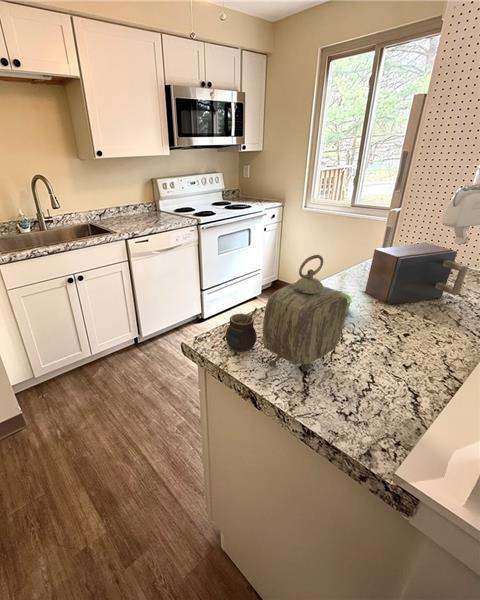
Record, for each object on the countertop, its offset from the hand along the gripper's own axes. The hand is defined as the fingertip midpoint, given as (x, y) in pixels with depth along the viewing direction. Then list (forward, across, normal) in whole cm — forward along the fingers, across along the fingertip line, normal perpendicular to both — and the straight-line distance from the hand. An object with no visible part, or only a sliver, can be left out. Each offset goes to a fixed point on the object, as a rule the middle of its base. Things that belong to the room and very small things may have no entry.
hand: (478, 241), depth 76 cm
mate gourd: (+19, -61, -4) cm, 64 cm away
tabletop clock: (+19, -51, -13) cm, 56 cm away
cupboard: (+18, -5, +11) cm, 22 cm away
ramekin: (+19, -30, +7) cm, 36 cm away
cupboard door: (+18, -5, +3) cm, 19 cm away
